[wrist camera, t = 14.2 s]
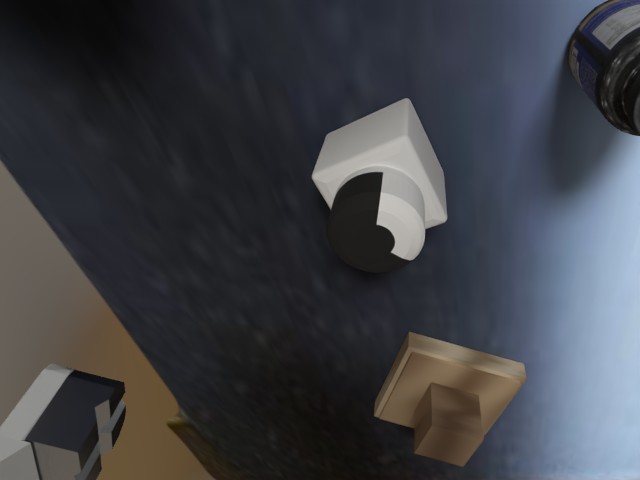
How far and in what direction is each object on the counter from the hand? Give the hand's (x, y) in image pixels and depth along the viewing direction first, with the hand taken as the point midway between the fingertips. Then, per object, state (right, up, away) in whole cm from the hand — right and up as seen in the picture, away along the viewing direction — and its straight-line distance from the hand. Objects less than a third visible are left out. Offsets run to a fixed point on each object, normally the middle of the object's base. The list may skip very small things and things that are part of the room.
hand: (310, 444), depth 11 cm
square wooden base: (+14, -11, +44) cm, 48 cm away
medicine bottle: (+5, +11, +30) cm, 32 cm away
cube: (+13, -13, +42) cm, 46 cm away
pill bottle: (+20, +17, +23) cm, 35 cm away
